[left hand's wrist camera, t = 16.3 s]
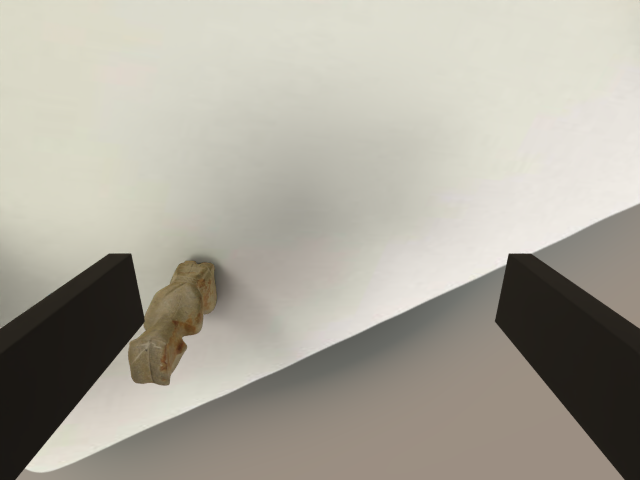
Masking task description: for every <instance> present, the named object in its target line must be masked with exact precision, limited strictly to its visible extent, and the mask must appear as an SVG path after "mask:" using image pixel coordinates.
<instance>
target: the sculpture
mask: <svg viewBox="0 0 640 480" xmlns="http://www.w3.org/2000/svg"><path fill="white" fill-rule="evenodd" d="M214 270H215V268H214V265H213V264H212V263H207V262H203V263H201V264H197V263H196V262H195V261H185V262H184V263H181V264H179V266H178V267H177V269H176V271H175V273H174V275H173V277H172V279H171V282H170V285H168V286H166V287H165V288H163V289H161V290H159V291H158V292H157V293H156V294H155V296H154V297H153V299H152V301H151V304H150V306H149V308H148V310H147V312H146V314H145V317H144V319H145V322H144V323H143V324H144V328H145V330H146V331H145V332H144V333H143V334H142V335H141V336H140V337H138V338H137V339H135V340H133V341H131V342H130V343H129V345H130V346H129V351H128V359H129V364H130V370H131V377H132V379H133V381H134V382H135V383H141V384H145V383H155V384H158V385H169V384H170V376H171V374H172V372H173V371H174V370H175V368H176V366H177V365H178V363H179V361H180V359H181V357H182V355H183V353H184V352H185V351H186V349H187V345H186V344H185V343H184V341H183V340H182V337H183V336H188V335H194V334H197V333H199V332H200V330H201V328H202V324H203V314H208V313H210V312H212V311H213V309H214V308H215V305H216V301H217V294H216V285H215V280H214Z"/></svg>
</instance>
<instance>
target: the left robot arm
mask: <svg viewBox="0 0 640 480" xmlns="http://www.w3.org/2000/svg"><path fill="white" fill-rule="evenodd" d="M144 322H145V319H144V314H143V309H142V304H141V299H140V294H139V289H138V285H137V280H136V275H135V270H134V265H133V260H132V255H131V254H108V255H107V256H105V257H104V258H102V259H101V260H99V261H98V262H96V263H95V264H93V265H92V266H91V267H89V268H88V269H86V270H85V271H83V272H82V273H80V274H79V275H78V276H76V277H75V278H73V279H72V280H70V281H69V282H67V283H66V284H64V285H63V286H62V287H60V288H59V289H57V290H56V291H54V292H53V293H51V294H50V295H49V296H47V297H46V298H44V299H43V300H41V301H40V302H38V303H37V304H36V305H34V306H33V307H31V308H30V309H28V310H27V311H25V312H24V313H22V314H21V315H20V316H18V317H17V318H15V319H14V320H12V321H11V322H9V323H8V324H7V325H5V326H4V327H2V328H1V329H0V480H15V479H16V478H17V477H18V476H19V475H20V473H21V472H22V471H23V470H24V468H25V467H26V466H27V465H28V464H29V462H30V461H31V460H32V459H33V457H34V456H35V455H36V454H37V453H38V451H39V450H40V449H41V448H42V447H43V445H44V444H45V443H46V442H47V440H48V439H49V438H50V437H51V436H52V434H53V433H54V432H55V431H56V429H57V428H58V427H59V426H60V425H61V423H62V422H63V421H64V420H65V418H66V417H67V416H68V415H69V414H70V412H71V411H72V410H73V409H74V407H75V406H76V405H77V404H78V403H79V401H80V400H81V399H82V398H83V397H84V395H85V394H86V393H87V392H88V390H89V389H90V388H91V387H92V386H93V384H94V383H95V382H96V381H97V379H98V378H99V377H100V376H101V375H102V373H103V372H104V371H105V370H106V368H107V367H108V366H109V365H110V364H111V362H112V361H113V360H114V359H115V357H116V356H117V355H118V354H119V353H120V351H121V350H122V349H123V348H124V347H125V345H126V344H127V343H128V342H129V340H130V339H131V338H132V337H133V336H134V334H135V333H136V332H137V331H138V329H139V328H140V327H141V326H142V325H143V323H144ZM495 322H496V323H497V325H498V326H499V327H500V328H501V329H502V331H503V332H504V333H505V334H506V336H507V337H508V338H509V339H510V340H511V342H512V343H513V344H514V345H515V347H516V348H517V349H518V350H519V351H520V353H521V354H522V355H523V356H524V357H525V359H526V360H527V361H528V362H529V364H530V365H531V366H532V367H533V368H534V370H535V371H536V372H537V373H538V375H539V376H540V377H541V378H542V379H543V381H544V382H545V383H546V384H547V386H548V387H549V388H550V389H551V390H552V392H553V393H554V394H555V395H556V397H557V398H558V399H559V400H560V401H561V403H562V404H563V405H564V406H565V407H566V409H567V410H568V411H569V412H570V414H571V415H572V416H573V417H574V418H575V420H576V421H577V422H578V423H579V425H580V426H581V427H582V428H583V429H584V431H585V432H586V433H587V434H588V436H589V437H590V438H591V439H592V440H593V441H594V443H595V444H596V445H597V447H598V448H599V449H600V450H601V451H602V453H603V454H604V455H605V456H606V457H607V459H608V460H609V461H610V462H611V464H612V465H613V466H614V467H615V468H616V470H617V471H618V472H619V473H620V475H621V476H622V477H623V478H624V479H625V480H640V329H639V328H638V327H636V326H635V325H633V324H632V323H631V322H629V321H628V320H626V319H625V318H623V317H622V316H620V315H619V314H618V313H616V312H615V311H613V310H612V309H610V308H609V307H607V306H606V305H604V304H603V303H602V302H600V301H599V300H597V299H596V298H594V297H593V296H591V295H590V294H588V293H587V292H586V291H584V290H583V289H581V288H580V287H578V286H577V285H576V284H574V283H573V282H571V281H570V280H568V279H567V278H565V277H564V276H562V275H561V274H560V273H558V272H557V271H555V270H554V269H552V268H551V267H549V266H548V265H547V264H545V263H544V262H542V261H541V260H539V259H538V258H536V257H535V256H533V255H532V254H509V255H508V260H507V265H506V270H505V275H504V280H503V284H502V289H501V294H500V299H499V304H498V309H497V314H496V319H495Z"/></svg>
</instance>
